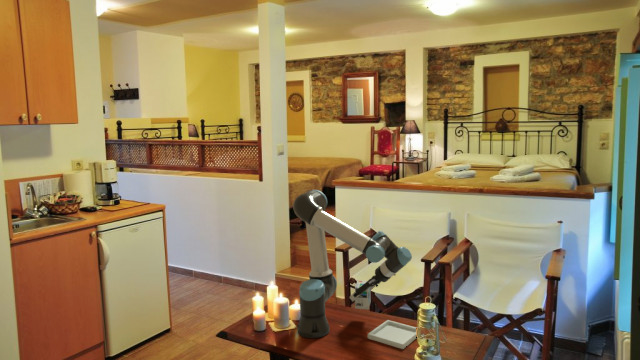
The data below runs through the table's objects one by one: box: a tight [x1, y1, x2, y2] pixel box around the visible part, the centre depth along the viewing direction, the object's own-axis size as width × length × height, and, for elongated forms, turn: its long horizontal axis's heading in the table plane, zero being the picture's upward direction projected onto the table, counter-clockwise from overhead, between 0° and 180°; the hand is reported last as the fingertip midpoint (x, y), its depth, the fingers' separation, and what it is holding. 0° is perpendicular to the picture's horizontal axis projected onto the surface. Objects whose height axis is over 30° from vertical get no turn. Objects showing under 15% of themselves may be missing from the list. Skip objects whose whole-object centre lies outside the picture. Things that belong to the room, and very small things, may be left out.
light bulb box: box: [354, 279, 372, 310], centre depth 244 cm, size 11×7×11 cm, turn 168°
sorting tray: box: [367, 319, 417, 350], centre depth 227 cm, size 18×18×2 cm
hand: (358, 295), depth 246 cm, fingers closed on light bulb box, 12 cm apart
